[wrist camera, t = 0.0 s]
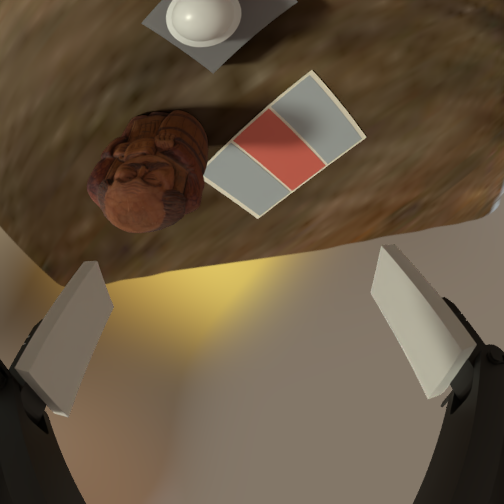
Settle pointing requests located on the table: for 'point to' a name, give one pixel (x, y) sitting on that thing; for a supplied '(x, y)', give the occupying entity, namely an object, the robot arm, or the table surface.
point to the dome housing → (252, 21)
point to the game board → (283, 146)
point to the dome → (203, 21)
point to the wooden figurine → (151, 172)
